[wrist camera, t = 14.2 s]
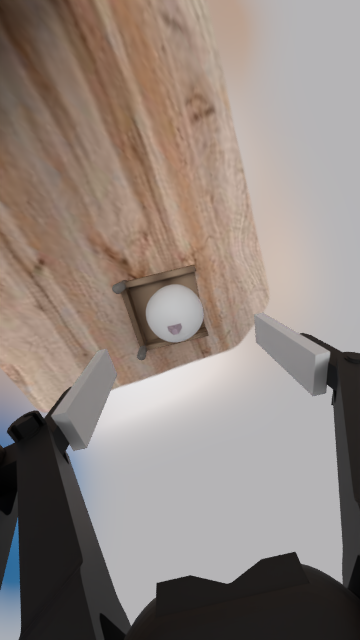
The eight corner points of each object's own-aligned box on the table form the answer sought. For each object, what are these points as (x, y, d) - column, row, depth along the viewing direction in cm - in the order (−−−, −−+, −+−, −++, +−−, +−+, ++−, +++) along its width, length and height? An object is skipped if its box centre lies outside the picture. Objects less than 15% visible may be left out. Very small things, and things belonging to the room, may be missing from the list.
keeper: (142, 346, 40) (138, 360, 34) (120, 281, 35) (111, 285, 29) (205, 331, 40) (211, 343, 34) (192, 263, 35) (197, 264, 29)
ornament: (170, 337, 39) (171, 369, 28) (139, 302, 36) (126, 323, 25) (207, 309, 38) (224, 331, 27) (177, 270, 35) (182, 277, 23)
